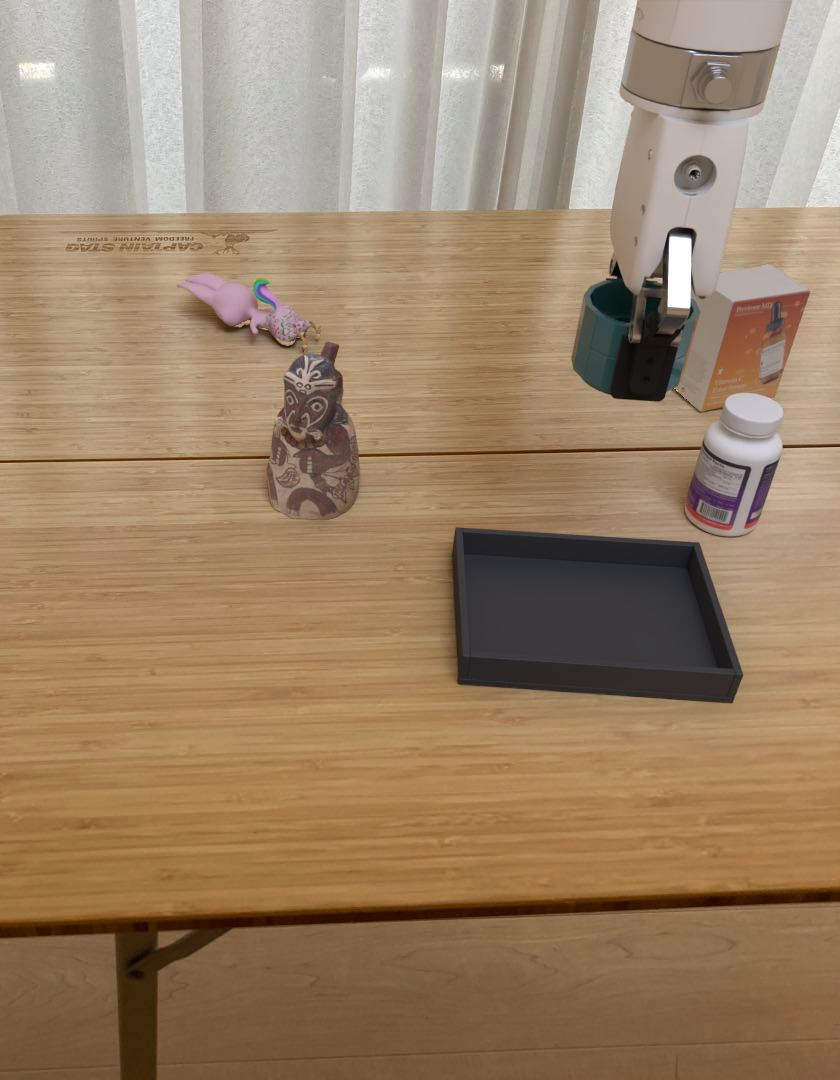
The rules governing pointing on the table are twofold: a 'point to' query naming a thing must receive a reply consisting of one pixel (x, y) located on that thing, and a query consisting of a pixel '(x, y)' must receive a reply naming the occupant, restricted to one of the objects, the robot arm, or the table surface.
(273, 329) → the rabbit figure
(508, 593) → the tray
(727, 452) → the pill bottle
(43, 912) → the table surface
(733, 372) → the small box
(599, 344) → the cup
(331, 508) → the figurine
